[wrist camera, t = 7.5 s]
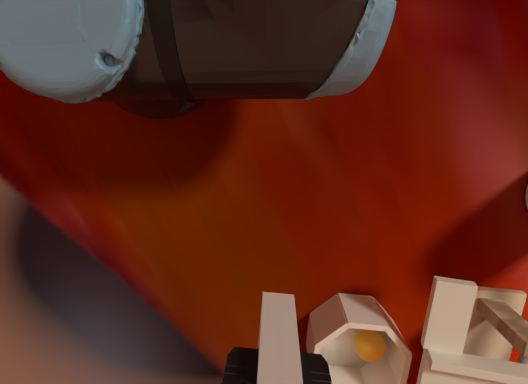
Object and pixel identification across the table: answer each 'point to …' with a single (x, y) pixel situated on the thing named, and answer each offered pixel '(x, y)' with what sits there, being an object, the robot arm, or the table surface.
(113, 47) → the robot arm
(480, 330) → the chute stand
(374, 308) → the cup
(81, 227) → the table surface
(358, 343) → the ball
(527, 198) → the supplement tub
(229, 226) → the table surface
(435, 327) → the seesaw chute
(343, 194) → the table surface
